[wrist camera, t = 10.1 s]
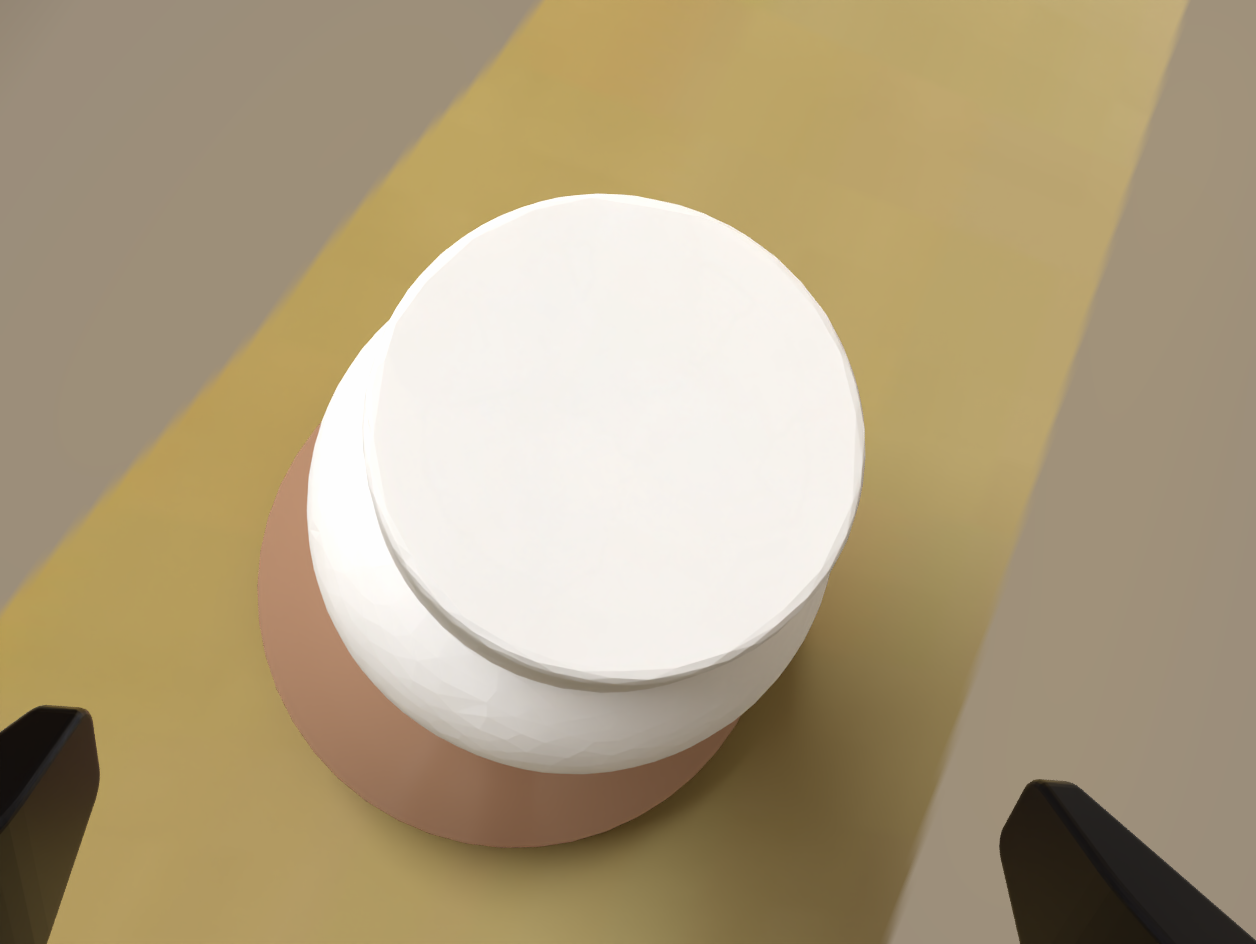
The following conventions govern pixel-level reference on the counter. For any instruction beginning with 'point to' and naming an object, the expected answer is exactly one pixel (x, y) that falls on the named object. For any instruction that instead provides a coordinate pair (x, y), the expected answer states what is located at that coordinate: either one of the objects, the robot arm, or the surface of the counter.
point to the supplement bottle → (587, 484)
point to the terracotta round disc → (404, 750)
